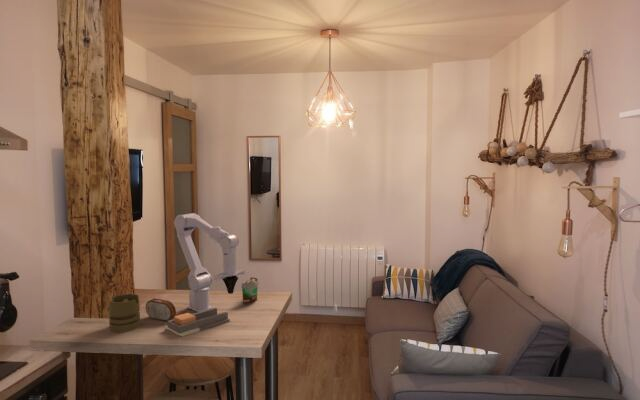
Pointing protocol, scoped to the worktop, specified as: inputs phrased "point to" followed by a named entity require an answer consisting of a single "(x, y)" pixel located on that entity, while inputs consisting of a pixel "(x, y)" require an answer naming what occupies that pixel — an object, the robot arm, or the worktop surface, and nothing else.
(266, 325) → the worktop surface
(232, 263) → the robot arm
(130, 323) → the piston
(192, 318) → the block
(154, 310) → the tin
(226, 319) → the chute
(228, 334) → the worktop surface
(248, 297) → the food container
